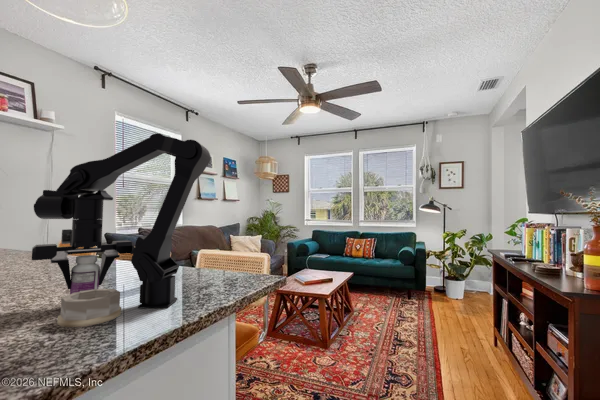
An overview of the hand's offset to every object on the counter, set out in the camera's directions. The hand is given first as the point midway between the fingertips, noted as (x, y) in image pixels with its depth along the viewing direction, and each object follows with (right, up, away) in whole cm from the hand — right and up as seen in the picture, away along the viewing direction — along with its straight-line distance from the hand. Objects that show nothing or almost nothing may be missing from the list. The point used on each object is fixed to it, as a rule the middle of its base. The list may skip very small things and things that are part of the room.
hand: (85, 286), depth 67 cm
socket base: (+8, -4, -9) cm, 12 cm away
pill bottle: (0, -3, 0) cm, 3 cm away
